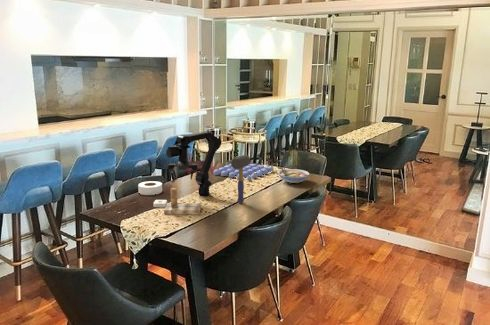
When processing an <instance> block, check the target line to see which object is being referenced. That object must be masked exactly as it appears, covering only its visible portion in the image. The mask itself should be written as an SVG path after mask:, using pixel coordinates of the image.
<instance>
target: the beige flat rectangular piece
mask: <svg viewBox="0 0 490 325" xmlns="http://www.w3.org/2000/svg"><path fill="white" fill-rule="evenodd" d="M177 204H178V207H176V208H172V207H171V202H167V205H166V207H164V209H163V215H200V212H201V208H202V203H200V202H199V203H198V202H195V203H194V202H193V203H191V202H185V203H184V202H183V203H178V202H177Z"/></svg>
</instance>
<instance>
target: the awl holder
mask: <svg viewBox="0 0 490 325" xmlns="http://www.w3.org/2000/svg"><path fill="white" fill-rule="evenodd" d="M167 204H168V200H167V199H155V200H154V201H153V206H152V207H153V208H165V207H166V205H167Z"/></svg>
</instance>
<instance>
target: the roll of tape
mask: <svg viewBox="0 0 490 325" xmlns="http://www.w3.org/2000/svg"><path fill="white" fill-rule="evenodd" d="M137 188H138V194H139V193H140V194H139V195H142V196H155V194H156V195H159V194H161V193H162V192H163V182H161V181H155V180H154V181H153V180H152V181H151V180H150V181H149V180H148V181H143V182H140V183H138V186H137Z"/></svg>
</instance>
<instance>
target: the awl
mask: <svg viewBox="0 0 490 325" xmlns="http://www.w3.org/2000/svg"><path fill="white" fill-rule="evenodd" d="M170 203H171V207H172V208H176V207H178V204H177V203H178V188H176V187H171V188H170Z"/></svg>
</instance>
